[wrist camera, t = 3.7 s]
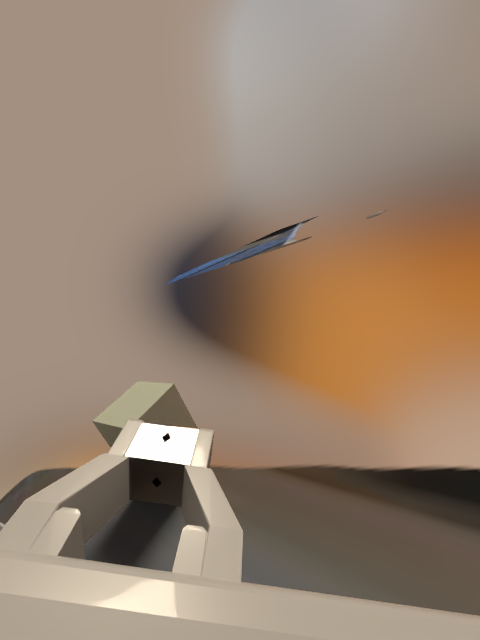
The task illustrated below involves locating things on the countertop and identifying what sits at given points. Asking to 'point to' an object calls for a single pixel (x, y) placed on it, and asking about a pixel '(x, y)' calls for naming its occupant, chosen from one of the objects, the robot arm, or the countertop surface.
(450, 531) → the countertop surface
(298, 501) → the countertop surface
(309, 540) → the countertop surface
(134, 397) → the sage block
